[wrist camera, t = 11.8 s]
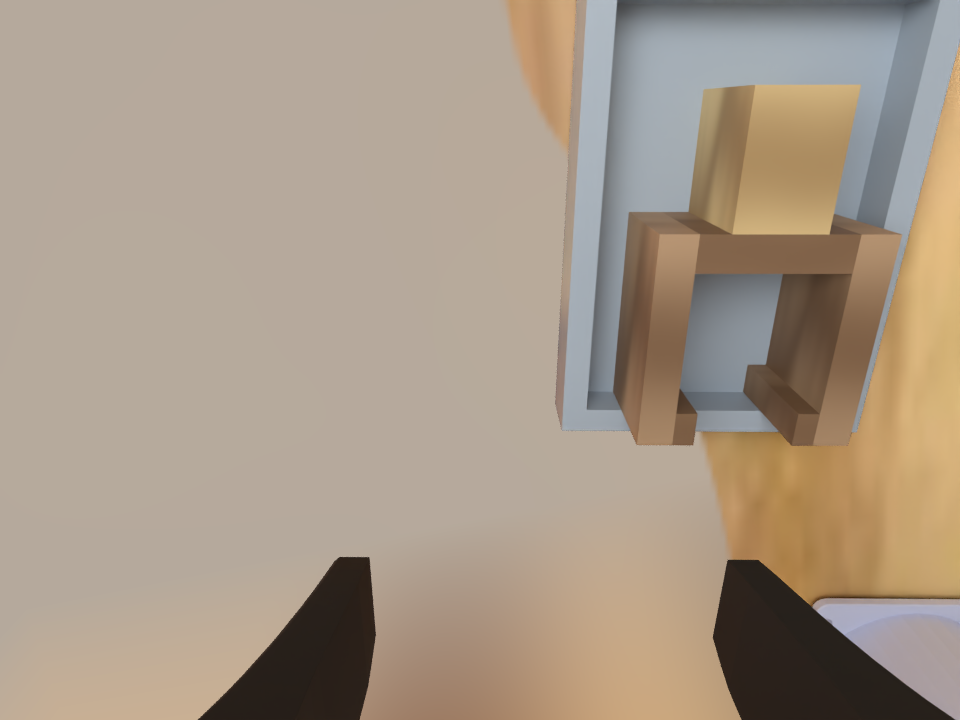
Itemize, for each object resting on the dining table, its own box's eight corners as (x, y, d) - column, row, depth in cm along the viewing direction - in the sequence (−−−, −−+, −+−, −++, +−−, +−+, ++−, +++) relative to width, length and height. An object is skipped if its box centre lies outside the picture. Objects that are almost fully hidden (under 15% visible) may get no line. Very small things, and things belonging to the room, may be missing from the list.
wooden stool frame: (790, 391, 21) (847, 445, 18) (613, 391, 21) (636, 445, 18) (853, 88, 17) (940, 84, 14) (639, 89, 17) (676, 84, 14)
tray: (825, 404, 22) (856, 432, 20) (555, 403, 22) (561, 430, 20) (926, -24, 17) (981, -40, 15) (577, -24, 17) (589, -41, 15)
